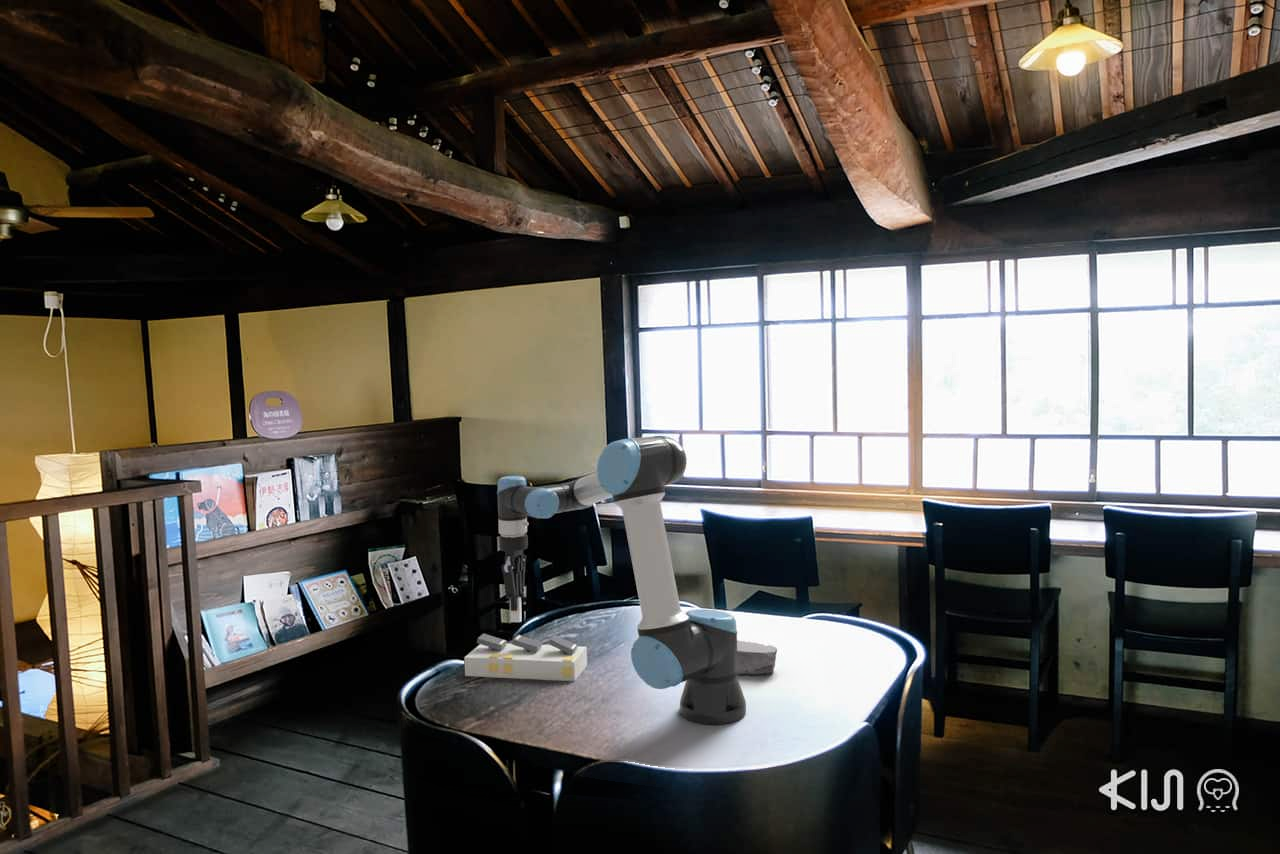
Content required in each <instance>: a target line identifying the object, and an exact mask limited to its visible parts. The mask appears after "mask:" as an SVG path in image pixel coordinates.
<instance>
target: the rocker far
mask: <svg viewBox="0 0 1280 854" xmlns="http://www.w3.org/2000/svg"><path fill="white" fill-rule="evenodd" d="M476 644H478V645H480V644H481V645H484V646H488V647H491V648H494V649H497V650H500V651H501V650H502V649H503V648H504V647H505V646H506V644H508V640H507V639H506V640H505V639H502V638H499V637H496V636H493V635H490V634H487V633H482V634H481V635H480V636H478V637H477V640H476Z"/></svg>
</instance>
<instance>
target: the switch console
mask: <svg viewBox="0 0 1280 854" xmlns="http://www.w3.org/2000/svg"><path fill="white" fill-rule="evenodd" d="M587 649H588V648H587V646H579V645H578V647H577V649H576V651H575V652H574V653H573V655H570V654H568V653H566V652H564V651H562V650H560V649H558V648H556V647H554V646H551V645H549V644H542V646H541V648H540V649H539V650H538V651H537V652H535V651H531V650H528V649H525V648H522V647H519V646H515V645H512V643H507V644H506V646H505V647H504V648H503V649H502V650H501V651H500V650H497V649H494V648H491V647H488V646H484V645H481V644H478V645H477V646H476V647H475V648H473V650H471V651H470V652H469V653H468V654H467V655H465V656H464V658H463V659H464V676H465V677H479V678H480V677H481V678H499V679H500V678H502V679H519V680H520V679H522V680H542V681H558V682H559V681H562V682H563V681H565V682H566V681H567V682H576V681H577V679H578V678H579V677H580V675H581V674H582V672H584V670H585V669H586V667H587V666H588V651H587Z"/></svg>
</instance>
